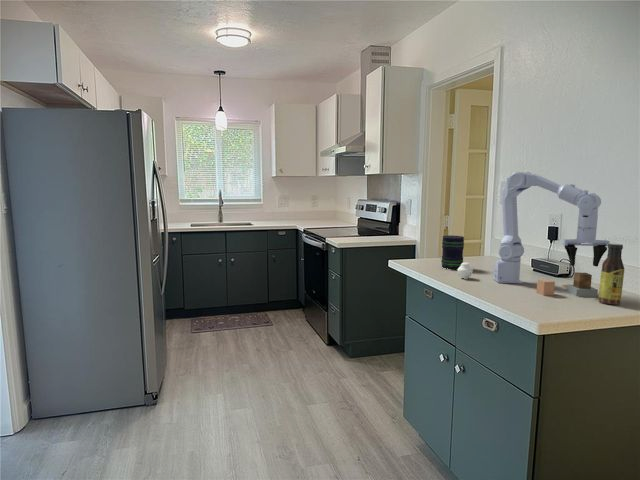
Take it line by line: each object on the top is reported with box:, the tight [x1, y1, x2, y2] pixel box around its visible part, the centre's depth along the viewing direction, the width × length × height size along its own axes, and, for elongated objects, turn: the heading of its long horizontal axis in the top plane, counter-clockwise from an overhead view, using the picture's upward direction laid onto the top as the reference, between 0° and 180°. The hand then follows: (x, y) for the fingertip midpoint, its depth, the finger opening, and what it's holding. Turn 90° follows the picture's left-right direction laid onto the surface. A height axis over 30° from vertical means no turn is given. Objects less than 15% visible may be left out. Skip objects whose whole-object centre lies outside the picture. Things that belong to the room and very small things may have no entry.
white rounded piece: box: [457, 261, 474, 280], centre depth 177 cm, size 6×6×7 cm
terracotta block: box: [536, 278, 556, 297], centre depth 151 cm, size 4×4×5 cm
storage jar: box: [440, 235, 465, 269], centre depth 198 cm, size 10×10×15 cm
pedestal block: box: [566, 284, 599, 298], centre depth 152 cm, size 7×7×3 cm
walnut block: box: [572, 271, 593, 289], centre depth 151 cm, size 4×4×5 cm
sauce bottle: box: [598, 242, 625, 306], centre depth 139 cm, size 6×6×20 cm
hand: (583, 265), depth 150 cm, fingers open, 7 cm apart
